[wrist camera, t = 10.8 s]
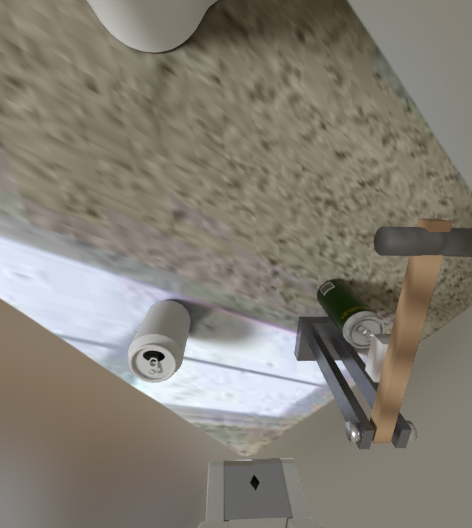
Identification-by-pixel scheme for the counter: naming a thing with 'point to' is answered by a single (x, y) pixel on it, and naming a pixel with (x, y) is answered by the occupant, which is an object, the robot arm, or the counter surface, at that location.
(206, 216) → the counter surface
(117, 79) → the counter surface
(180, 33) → the robot arm
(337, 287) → the green soda can
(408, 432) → the press frame
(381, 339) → the hammer
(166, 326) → the can
